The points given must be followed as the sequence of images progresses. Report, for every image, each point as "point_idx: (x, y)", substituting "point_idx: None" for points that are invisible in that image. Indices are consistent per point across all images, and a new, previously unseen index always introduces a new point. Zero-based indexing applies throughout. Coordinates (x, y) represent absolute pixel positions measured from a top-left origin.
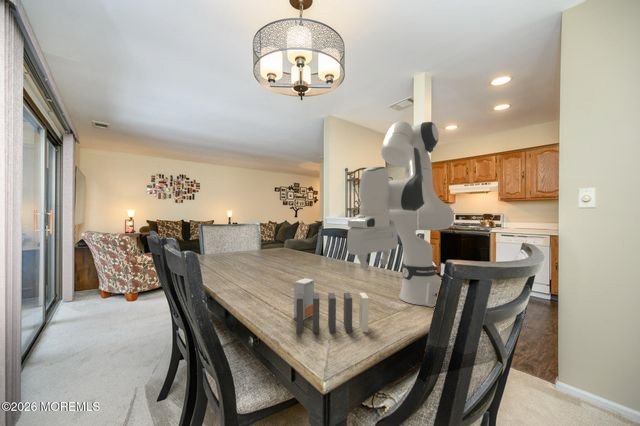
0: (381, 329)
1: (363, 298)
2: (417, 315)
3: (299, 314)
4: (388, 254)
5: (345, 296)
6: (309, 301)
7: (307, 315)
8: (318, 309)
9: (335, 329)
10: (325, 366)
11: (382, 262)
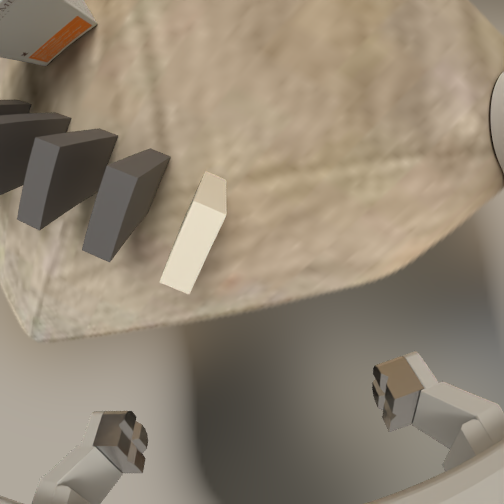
0: (256, 237)
1: (163, 283)
2: (438, 213)
3: None
4: (450, 446)
5: (89, 224)
6: (42, 32)
7: (58, 50)
8: (8, 189)
9: (93, 193)
10: (36, 314)
11: (381, 389)
